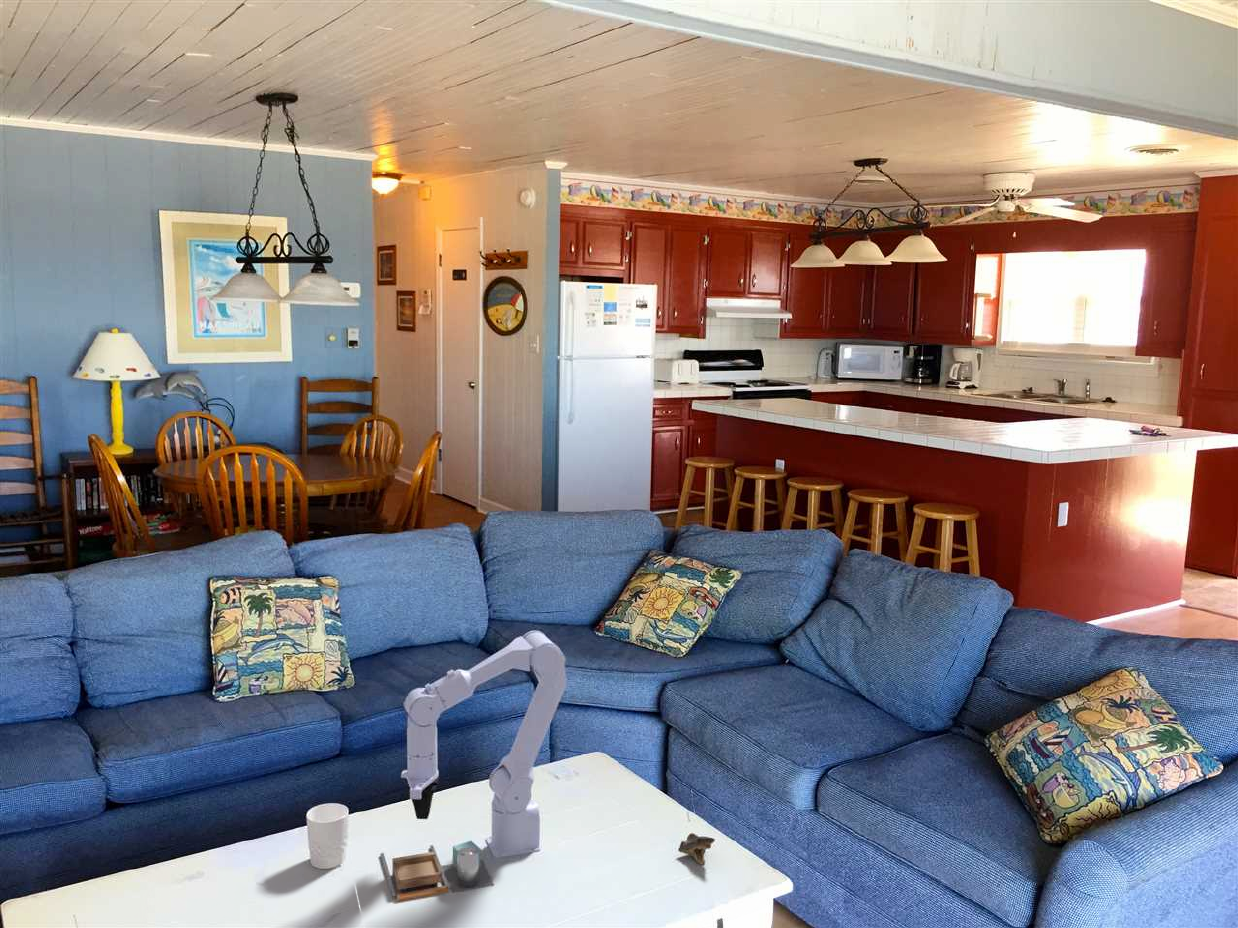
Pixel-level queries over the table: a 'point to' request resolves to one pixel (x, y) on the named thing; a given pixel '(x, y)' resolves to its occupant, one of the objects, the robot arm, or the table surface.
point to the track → (420, 892)
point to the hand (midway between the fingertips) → (422, 817)
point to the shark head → (696, 846)
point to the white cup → (327, 835)
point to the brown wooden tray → (416, 871)
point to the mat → (452, 880)
